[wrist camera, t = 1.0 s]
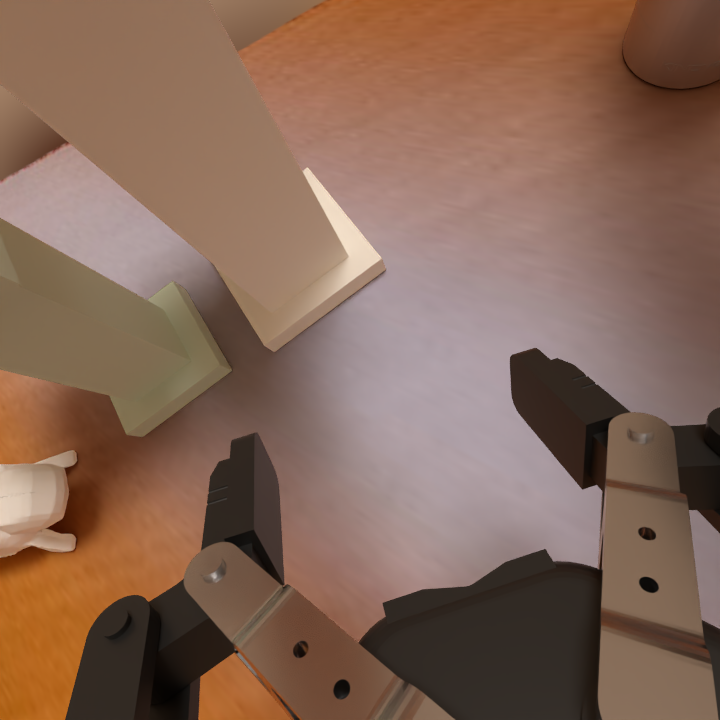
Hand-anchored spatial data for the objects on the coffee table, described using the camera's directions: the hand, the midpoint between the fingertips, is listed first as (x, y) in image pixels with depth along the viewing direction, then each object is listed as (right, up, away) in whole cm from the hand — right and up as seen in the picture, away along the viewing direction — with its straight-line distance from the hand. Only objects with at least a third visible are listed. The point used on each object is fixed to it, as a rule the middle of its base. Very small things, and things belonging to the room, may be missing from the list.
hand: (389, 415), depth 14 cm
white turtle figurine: (-29, -11, +27) cm, 41 cm away
